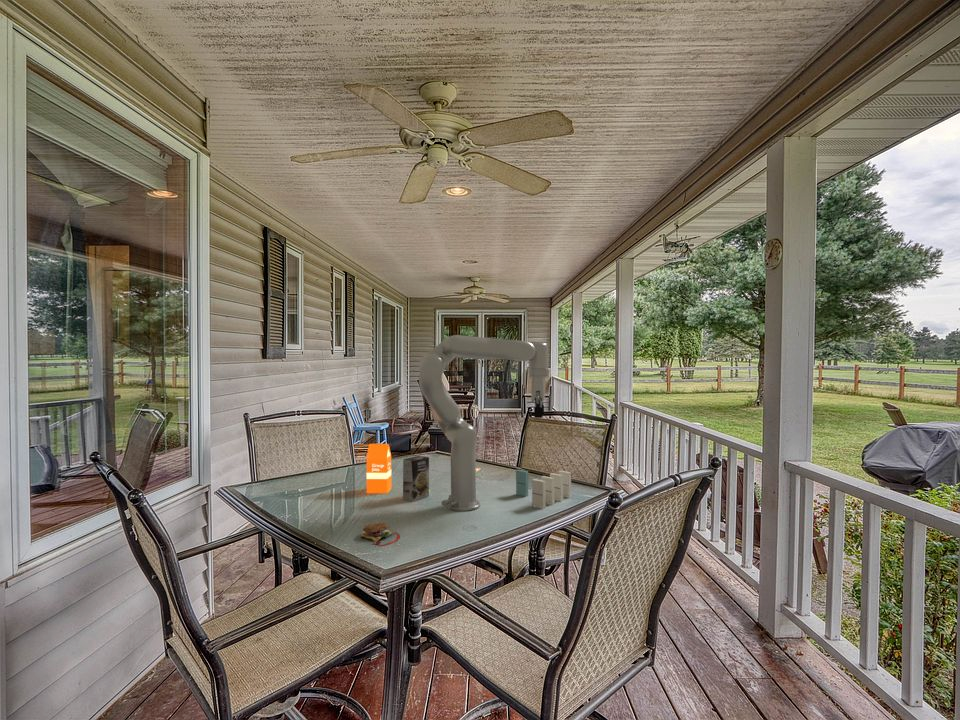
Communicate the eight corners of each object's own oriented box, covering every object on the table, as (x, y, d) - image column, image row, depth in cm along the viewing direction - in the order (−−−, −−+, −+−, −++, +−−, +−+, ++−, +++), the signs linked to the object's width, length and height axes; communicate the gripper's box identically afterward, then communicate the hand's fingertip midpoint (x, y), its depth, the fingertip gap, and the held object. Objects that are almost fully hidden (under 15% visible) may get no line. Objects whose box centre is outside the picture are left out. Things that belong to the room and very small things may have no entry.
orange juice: (371, 488, 197) (371, 442, 197) (391, 488, 196) (391, 442, 197) (366, 493, 189) (366, 445, 189) (387, 493, 189) (387, 445, 189)
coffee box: (413, 502, 176) (413, 460, 177) (402, 499, 180) (402, 458, 180) (429, 496, 184) (429, 456, 184) (418, 493, 188) (418, 455, 188)
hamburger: (344, 542, 138) (343, 522, 138) (378, 528, 150) (377, 510, 150) (376, 552, 130) (376, 531, 130) (409, 536, 142) (409, 517, 142)
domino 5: (569, 498, 180) (568, 473, 180) (558, 495, 183) (558, 471, 183) (571, 497, 181) (571, 472, 181) (560, 494, 184) (560, 470, 185)
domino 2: (543, 508, 167) (542, 481, 167) (532, 506, 170) (531, 479, 170) (545, 507, 168) (545, 481, 168) (534, 505, 171) (534, 478, 171)
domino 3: (552, 505, 171) (551, 478, 171) (541, 502, 174) (541, 476, 174) (554, 504, 172) (554, 478, 172) (543, 501, 176) (543, 475, 176)
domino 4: (560, 501, 175) (560, 475, 176) (550, 499, 179) (549, 473, 179) (563, 500, 177) (562, 475, 177) (552, 498, 180) (552, 473, 180)
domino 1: (525, 496, 182) (525, 472, 182) (516, 494, 185) (515, 470, 185) (528, 496, 183) (528, 471, 183) (518, 493, 187) (518, 469, 187)
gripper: (531, 373, 189) (531, 413, 189) (527, 374, 172) (528, 418, 172) (549, 372, 188) (549, 413, 188) (546, 373, 171) (547, 418, 171)
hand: (539, 416), depth 180 cm, fingers open, 9 cm apart
